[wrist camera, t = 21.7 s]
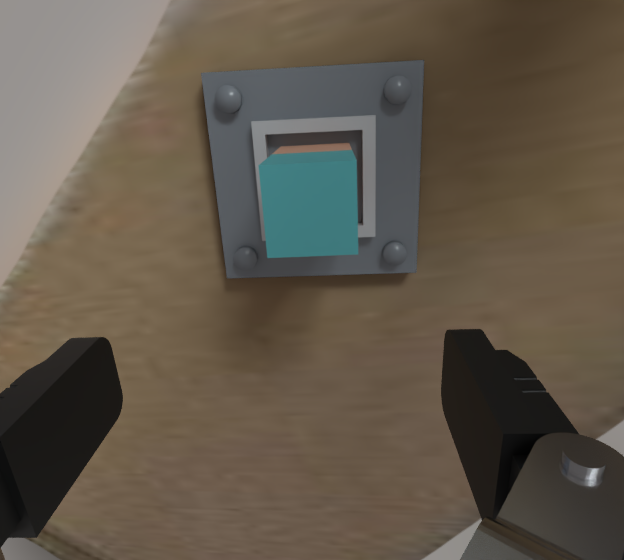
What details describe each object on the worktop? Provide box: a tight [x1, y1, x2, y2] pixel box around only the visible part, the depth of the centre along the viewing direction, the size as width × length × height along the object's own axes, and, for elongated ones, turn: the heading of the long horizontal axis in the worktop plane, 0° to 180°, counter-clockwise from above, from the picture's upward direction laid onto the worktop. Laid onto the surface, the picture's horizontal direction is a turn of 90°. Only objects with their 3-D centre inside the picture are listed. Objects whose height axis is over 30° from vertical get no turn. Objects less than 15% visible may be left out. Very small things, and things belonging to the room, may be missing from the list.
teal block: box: [258, 150, 358, 258], centre depth 29 cm, size 6×6×6 cm
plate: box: [201, 60, 424, 278], centre depth 38 cm, size 17×17×2 cm
